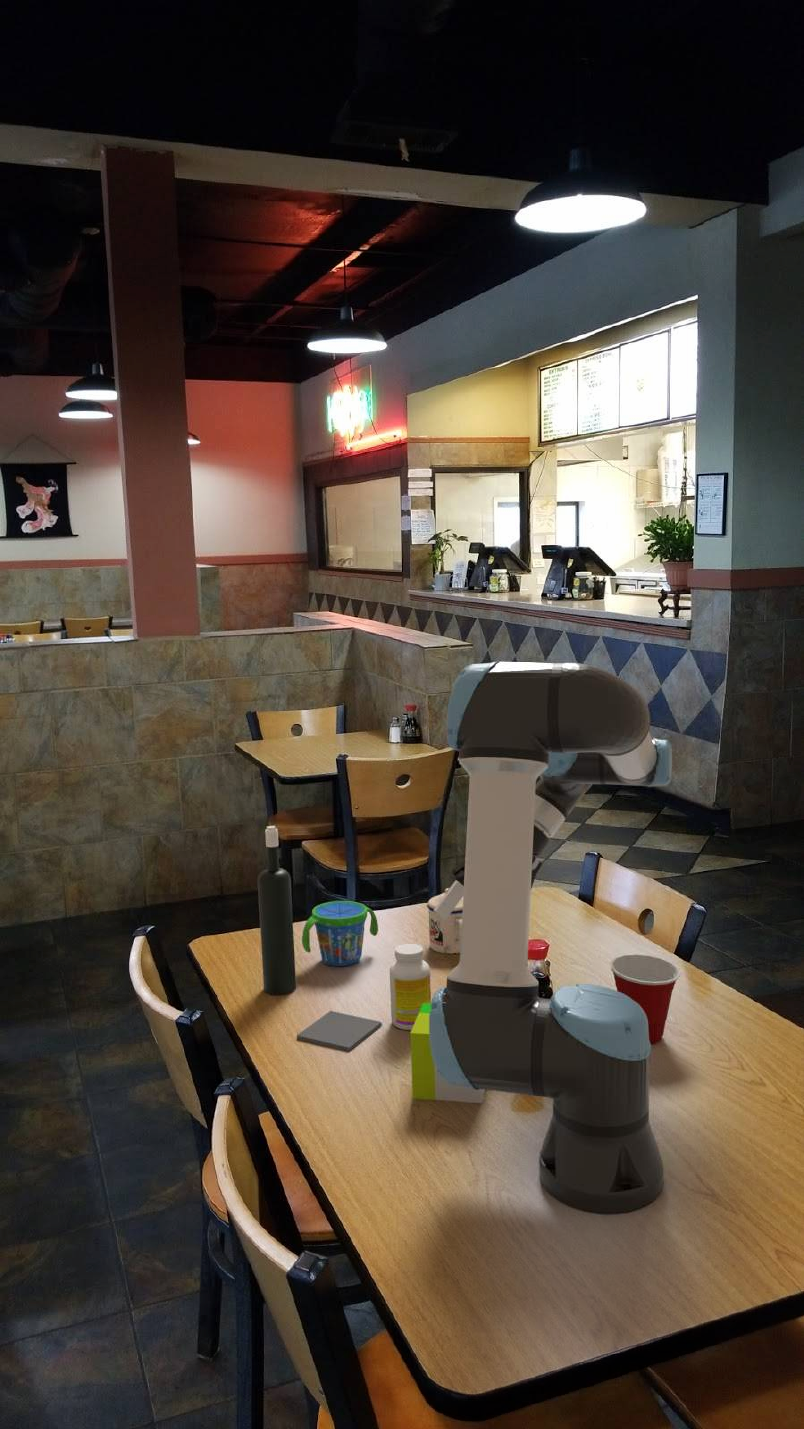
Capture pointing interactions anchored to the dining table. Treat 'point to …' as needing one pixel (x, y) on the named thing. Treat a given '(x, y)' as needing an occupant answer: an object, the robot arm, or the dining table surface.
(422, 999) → the supplement bottle
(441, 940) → the teacup with lid
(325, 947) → the snack cup
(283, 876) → the wine bottle
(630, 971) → the plastic cup
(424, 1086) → the puzzle toy
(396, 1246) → the dining table surface
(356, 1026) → the coaster
